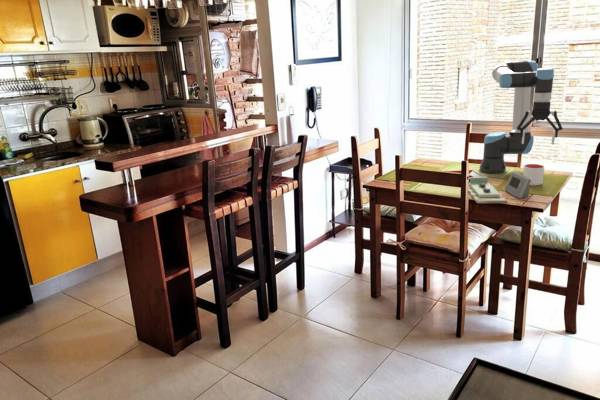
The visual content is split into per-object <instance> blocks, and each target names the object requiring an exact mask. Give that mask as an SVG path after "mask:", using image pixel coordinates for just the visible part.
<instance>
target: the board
mask: <svg viewBox="0 0 600 400" xmlns="http://www.w3.org/2000/svg"><path fill="white" fill-rule="evenodd" d="M489 184H490V183H489ZM490 185H491V186H492V187H493V188H494V189H495V190H496V191H497V192H498V193H499V194H500V197H478V195H477V194H476V193H475V192H474V191H473V189H472V188H471V187H470V186H469V192H468V194H469V195H470V196H471V198H472V199H473V201H475V203H476V204H507V203H508V200H507V199H506V198H505V197H504V196H503V195H502V194H501V193H500V192H499V190H497V189H496V188H495V187H494V186H493V185H492V184H490ZM484 186H485V184H480V186H479V187H480V188H484ZM489 191H490V189H484V193H488V192H489Z"/></svg>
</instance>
